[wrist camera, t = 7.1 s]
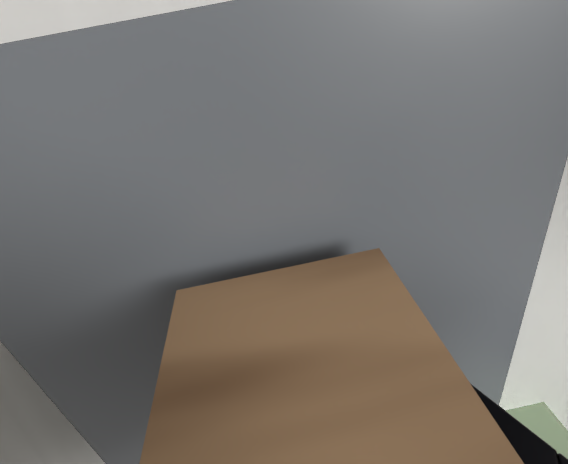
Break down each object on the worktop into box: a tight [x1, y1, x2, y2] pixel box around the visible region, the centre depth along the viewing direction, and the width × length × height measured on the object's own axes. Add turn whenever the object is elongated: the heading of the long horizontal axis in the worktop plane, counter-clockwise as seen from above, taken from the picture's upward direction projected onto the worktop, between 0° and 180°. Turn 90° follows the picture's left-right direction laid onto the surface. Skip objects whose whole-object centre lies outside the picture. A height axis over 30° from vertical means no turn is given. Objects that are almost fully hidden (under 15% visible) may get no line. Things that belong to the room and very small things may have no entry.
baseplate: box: [0, 0, 568, 464], centre depth 11 cm, size 16×16×1 cm
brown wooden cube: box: [139, 248, 524, 464], centre depth 8 cm, size 5×5×5 cm
